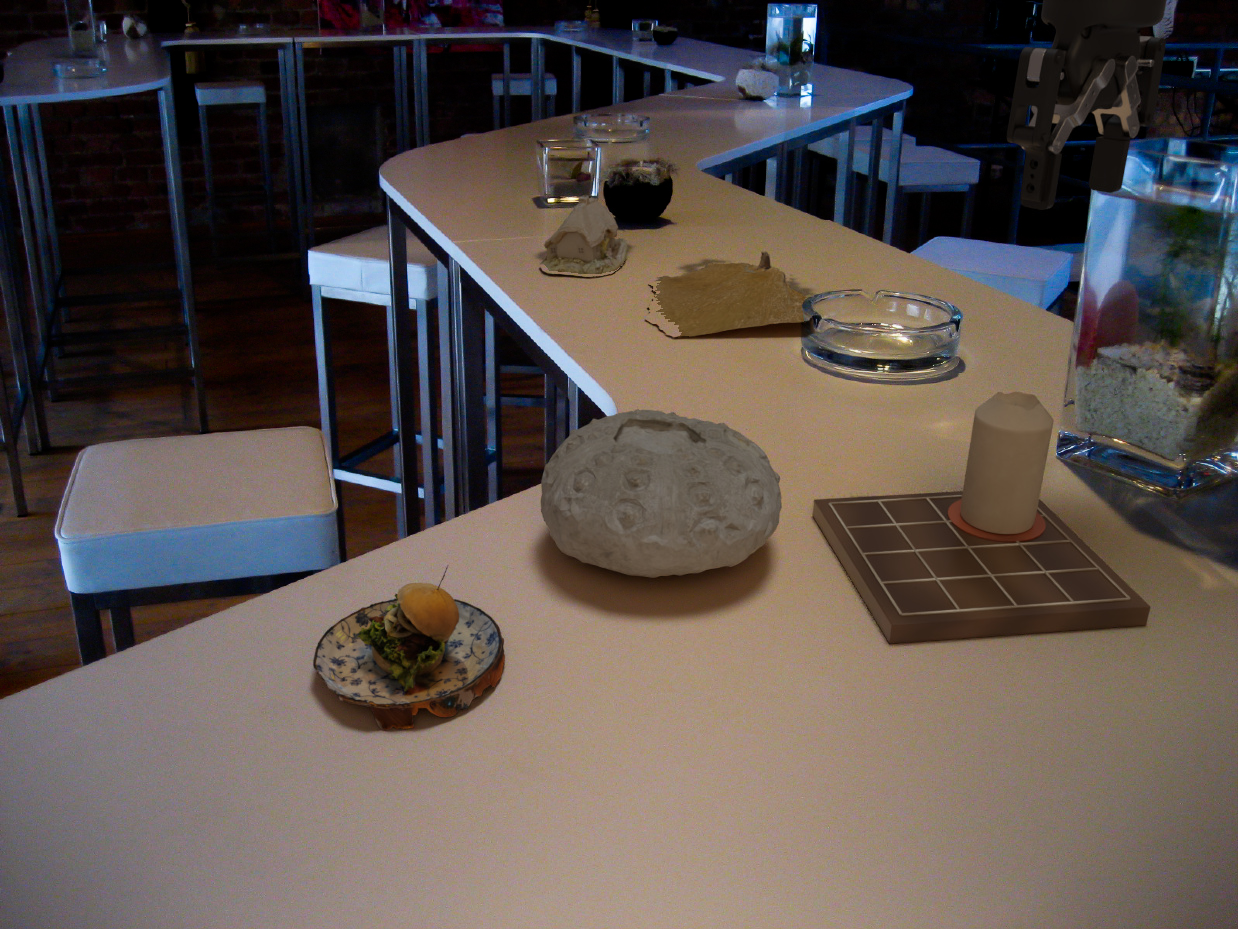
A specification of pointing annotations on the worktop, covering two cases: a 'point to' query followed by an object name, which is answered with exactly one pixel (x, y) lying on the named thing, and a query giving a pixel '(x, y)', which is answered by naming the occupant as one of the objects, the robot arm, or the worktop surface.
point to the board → (970, 571)
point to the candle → (1006, 463)
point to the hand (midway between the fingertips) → (1071, 198)
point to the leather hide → (729, 298)
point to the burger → (412, 655)
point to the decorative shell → (659, 494)
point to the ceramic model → (586, 241)
